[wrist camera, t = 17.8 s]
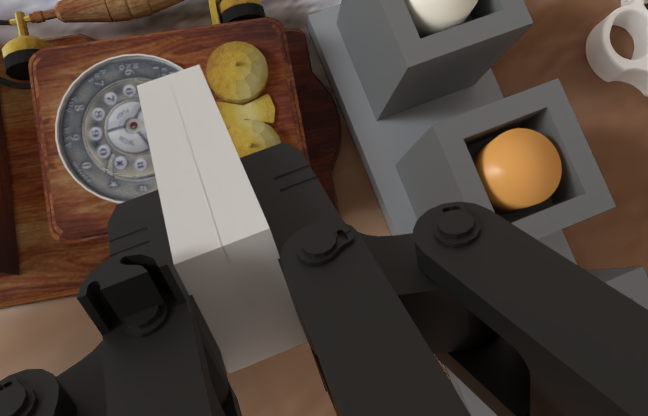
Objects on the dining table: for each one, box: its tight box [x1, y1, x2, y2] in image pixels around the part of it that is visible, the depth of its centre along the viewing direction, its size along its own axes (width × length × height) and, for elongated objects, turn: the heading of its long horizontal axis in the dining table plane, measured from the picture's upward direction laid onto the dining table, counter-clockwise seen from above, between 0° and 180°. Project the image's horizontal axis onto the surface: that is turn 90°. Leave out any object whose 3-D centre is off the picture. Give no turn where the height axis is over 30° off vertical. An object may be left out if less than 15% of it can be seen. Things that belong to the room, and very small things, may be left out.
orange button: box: [471, 128, 562, 214], centre depth 41 cm, size 5×5×4 cm
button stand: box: [306, 0, 648, 416], centre depth 45 cm, size 38×13×14 cm, turn 22°
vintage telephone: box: [0, 0, 341, 308], centre depth 45 cm, size 24×12×40 cm
